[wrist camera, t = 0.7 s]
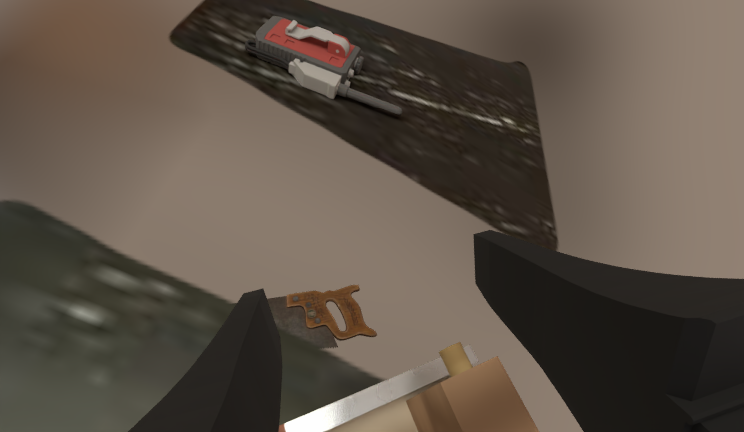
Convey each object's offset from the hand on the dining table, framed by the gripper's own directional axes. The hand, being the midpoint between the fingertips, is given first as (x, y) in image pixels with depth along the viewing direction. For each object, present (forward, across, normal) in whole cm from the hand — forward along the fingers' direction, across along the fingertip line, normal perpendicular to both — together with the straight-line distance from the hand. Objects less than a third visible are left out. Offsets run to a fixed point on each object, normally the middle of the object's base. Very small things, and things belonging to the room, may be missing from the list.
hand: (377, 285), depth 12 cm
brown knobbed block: (+5, -4, +16) cm, 17 cm away
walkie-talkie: (+38, -4, -4) cm, 39 cm away
